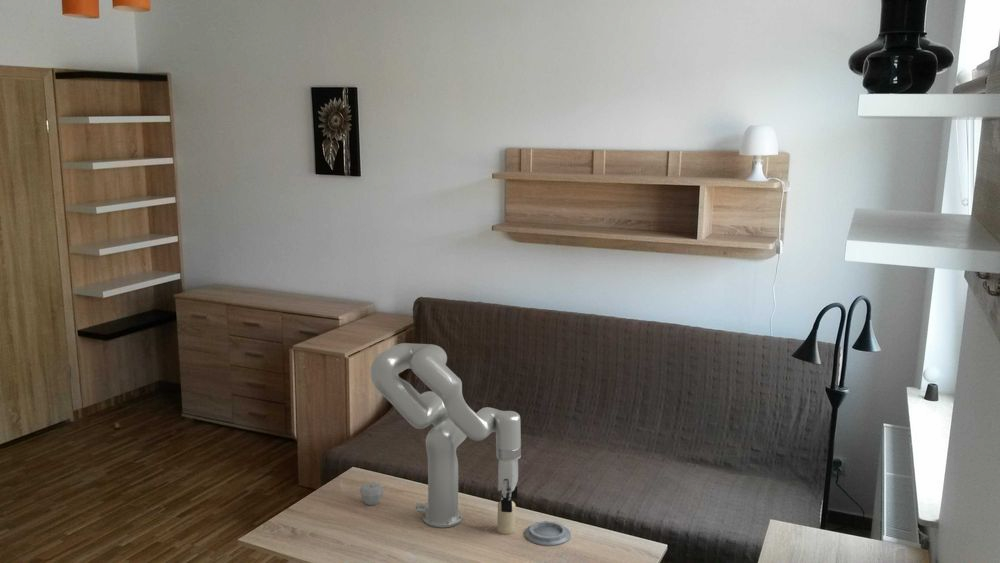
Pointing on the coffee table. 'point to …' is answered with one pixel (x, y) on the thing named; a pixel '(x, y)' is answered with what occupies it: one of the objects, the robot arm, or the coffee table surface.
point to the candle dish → (547, 533)
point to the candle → (506, 520)
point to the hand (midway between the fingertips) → (509, 504)
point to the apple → (371, 493)
